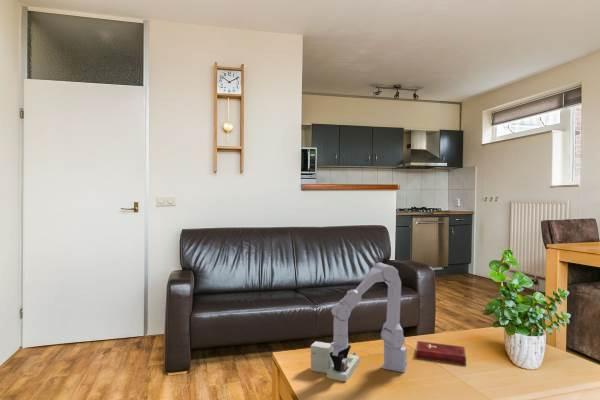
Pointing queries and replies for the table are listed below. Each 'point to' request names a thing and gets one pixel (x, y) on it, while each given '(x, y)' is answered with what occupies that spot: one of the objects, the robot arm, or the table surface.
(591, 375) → the table surface
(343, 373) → the power strip
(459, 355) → the hardcover book
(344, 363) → the plug
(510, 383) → the table surface
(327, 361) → the small box
